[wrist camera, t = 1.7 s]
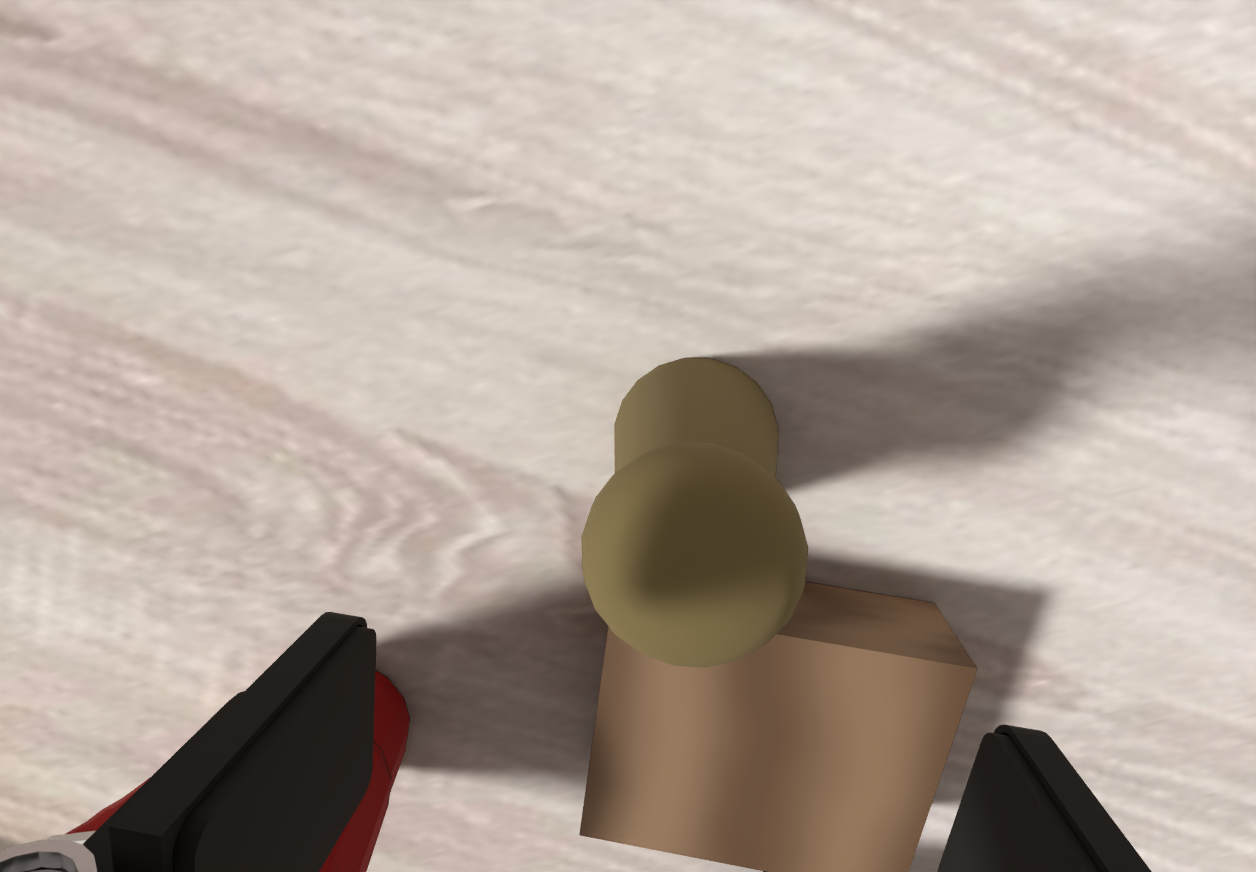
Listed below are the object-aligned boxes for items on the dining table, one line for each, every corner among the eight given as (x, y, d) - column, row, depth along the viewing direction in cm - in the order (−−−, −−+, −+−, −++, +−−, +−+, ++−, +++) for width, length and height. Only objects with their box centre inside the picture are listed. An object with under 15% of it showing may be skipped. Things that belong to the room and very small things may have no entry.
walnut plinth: (934, 603, 25) (977, 668, 21) (872, 807, 28) (899, 897, 24) (624, 551, 26) (611, 606, 22) (595, 756, 29) (579, 835, 25)
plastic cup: (510, 778, 30) (391, 1119, 18) (311, 828, 32) (92, 1160, 20) (403, 573, 27) (187, 816, 16) (195, 641, 29) (-129, 900, 18)
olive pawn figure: (736, 328, 23) (768, 403, 12) (805, 476, 24) (886, 659, 14) (585, 400, 24) (497, 524, 14) (657, 538, 25) (628, 747, 15)
